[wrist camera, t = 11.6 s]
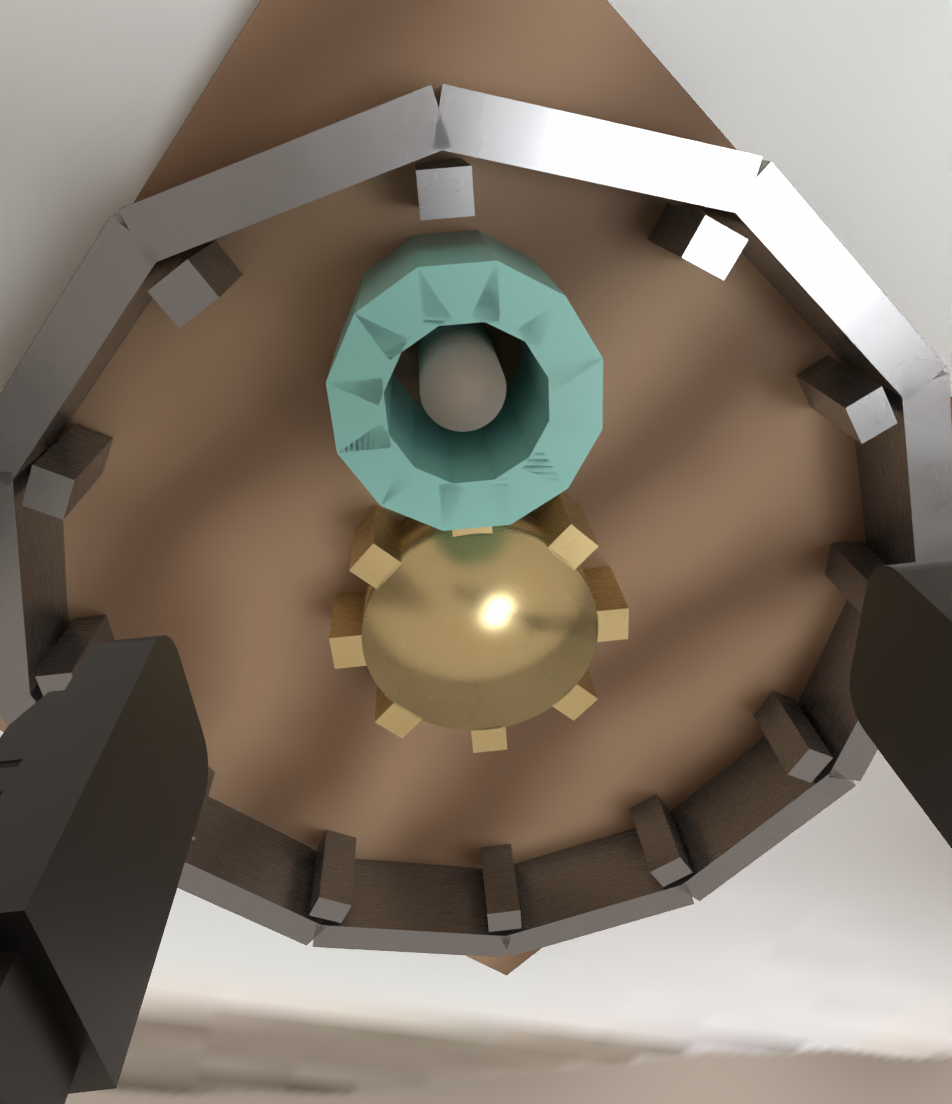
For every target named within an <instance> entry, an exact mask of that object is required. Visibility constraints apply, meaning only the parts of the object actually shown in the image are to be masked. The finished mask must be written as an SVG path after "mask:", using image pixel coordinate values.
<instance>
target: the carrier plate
mask: <svg viewBox="0 0 952 1104" xmlns="http://www.w3.org/2000/svg"><path fill="white" fill-rule="evenodd" d="M442 84H446V85H450V86H454V87H459V88H463V89H468V90H472V91H477V92H481V93H485V94H490V95H494V96H499V97H503V98H507V99H512V100H516V101H521V102H525V103H530V104H534V105H538V106H543V107H547V108H552V109H556V110H560V111H565V112H569V113H574V114H578V115H582V116H587V117H591V118H596V119H600V120H605V121H609V122H613V123H618V124H622V125H627V126H631V127H635V128H640V129H644V130H649V131H653V132H658V133H662V134H666V135H671V136H675V137H680V138H684V139H688V140H693V141H697V142H702V143H706V144H711V145H715V146H719V147H724V148H728V149H733V150H736V148H735V147H734V146H733V145H732V144H731V143H730V142H729V140H728V139H727V138H726V137H725V136H724V135H723V134H722V132H721V131H720V130H719V129H718V128H717V127H716V125H715V124H714V123H713V122H712V121H711V120H710V119H709V117H708V116H707V115H706V114H705V113H704V112H703V110H702V109H701V108H700V107H699V106H698V105H697V104H696V102H695V101H694V100H693V99H692V98H691V97H690V95H689V94H688V93H687V92H686V91H685V90H684V89H683V87H682V86H681V85H680V84H679V83H678V82H677V81H676V79H675V78H674V77H673V76H672V75H671V74H670V72H669V71H668V70H667V69H666V68H665V67H664V66H663V64H662V63H661V62H660V61H659V60H658V59H657V57H656V56H655V55H654V54H653V53H652V52H651V51H650V49H649V48H648V47H647V46H646V45H645V44H644V42H643V41H642V40H641V39H640V38H639V37H638V36H637V34H636V33H635V32H634V31H633V30H632V29H631V28H630V26H629V25H628V24H627V23H626V22H625V21H624V19H623V18H622V17H621V16H620V15H619V14H618V13H617V11H616V10H615V9H614V8H613V7H612V6H611V4H610V3H609V2H608V1H607V0H261V1H260V3H259V4H258V6H257V8H256V9H255V11H254V12H253V14H252V16H251V17H250V19H249V20H248V22H247V23H246V25H245V27H244V28H243V30H242V31H241V33H240V35H239V36H238V38H237V39H236V41H235V43H234V44H233V46H232V47H231V49H230V51H229V52H228V54H227V55H226V57H225V58H224V60H223V62H222V63H221V65H220V66H219V68H218V70H217V71H216V73H215V74H214V76H213V78H212V79H211V81H210V82H209V84H208V86H207V87H206V89H205V90H204V92H203V93H202V95H201V97H200V98H199V100H198V101H197V103H196V105H195V106H194V108H193V109H192V111H191V113H190V114H189V116H188V117H187V119H186V121H185V122H184V124H183V125H182V127H181V128H180V130H179V132H178V133H177V135H176V136H175V138H174V140H173V141H172V143H171V144H170V146H169V148H168V149H167V151H166V152H165V154H164V156H163V157H162V159H161V160H160V162H159V163H158V165H157V167H156V168H155V170H154V171H153V173H152V175H151V176H150V178H149V179H148V181H147V183H146V184H145V186H144V187H143V189H142V191H141V192H140V194H139V195H138V197H137V198H136V200H135V202H134V203H136V202H139V201H141V200H144V199H146V198H149V197H151V196H154V195H156V194H159V193H161V192H164V191H166V190H169V189H171V188H174V187H176V186H179V185H181V184H184V183H186V182H189V181H191V180H194V179H196V178H199V177H201V176H204V175H206V174H209V173H211V172H214V171H216V170H219V169H221V168H224V167H226V166H229V165H232V164H234V163H237V162H239V161H242V160H244V159H247V158H249V157H252V156H254V155H257V154H259V153H262V152H264V151H267V150H269V149H272V148H274V147H277V146H279V145H282V144H284V143H287V142H289V141H292V140H294V139H297V138H299V137H302V136H304V135H307V134H309V133H312V132H314V131H317V130H319V129H322V128H324V127H327V126H329V125H332V124H334V123H337V122H339V121H342V120H344V119H347V118H349V117H352V116H354V115H357V114H359V113H362V112H364V111H367V110H369V109H372V108H374V107H377V106H379V105H382V104H384V103H387V102H389V101H392V100H394V99H397V98H399V97H402V96H404V95H407V94H409V93H412V92H414V91H417V90H419V89H422V88H424V87H427V86H429V85H432V89H433V92H434V95H435V98H436V97H437V90H438V88H439V87H440V86H441V85H442ZM459 159H463V160H465V161H466V162H467V163H469V164H470V165H471V166H472V179H473V195H474V210H475V216H468V217H456V218H444V219H432V220H420V212H419V203H418V193H417V182H416V172H415V163H423V162H435V161H447V160H459ZM134 203H133V204H134ZM667 203H670V204H673V205H676V206H679V207H682V208H685V209H688V210H691V211H694V212H697V213H700V214H703V215H706V216H708V215H707V214H706V213H705V212H704V211H703V210H702V209H701V208H700V207H699V206H698V205H697V204H692V203H687V202H682V201H678V200H673V199H668V198H664V197H659V196H654V195H650V194H645V193H640V192H636V191H631V190H626V189H622V188H617V187H612V186H608V185H603V184H598V183H593V182H589V181H584V180H579V179H575V178H570V177H565V176H561V175H556V174H551V173H547V172H542V171H537V170H533V169H528V168H523V167H518V166H514V165H509V164H504V163H500V162H495V161H490V160H486V159H481V158H476V157H472V156H467V155H462V154H458V153H453V152H448V151H444V150H442V151H439V152H436V153H434V154H431V155H429V156H426V157H424V158H421V159H419V160H416V161H413V162H411V163H408V164H406V165H403V166H401V167H398V168H396V169H393V170H390V171H388V172H385V173H383V174H380V175H378V176H375V177H373V178H370V179H367V180H365V181H362V182H360V183H357V184H355V185H352V186H349V187H347V188H344V189H342V190H339V191H337V192H334V193H332V194H329V195H326V196H324V197H321V198H319V199H316V200H314V201H311V202H309V203H306V204H303V205H301V206H298V207H296V208H293V209H291V210H288V211H285V212H283V213H280V214H278V215H275V216H273V217H270V218H268V219H265V220H262V221H260V222H257V223H255V224H252V225H250V226H247V227H245V228H242V229H239V230H237V231H234V232H232V233H229V234H227V235H224V236H222V237H219V238H216V239H214V240H211V241H209V242H206V243H204V244H201V245H198V246H196V247H193V248H191V249H188V250H186V251H183V252H182V254H181V255H180V257H179V258H178V260H177V261H176V263H175V264H174V266H173V267H172V269H171V270H170V272H169V273H168V274H170V273H171V272H172V271H173V270H175V269H176V268H177V267H178V266H180V265H181V264H182V263H183V262H185V261H186V260H187V259H189V258H190V257H192V256H193V255H195V254H196V253H198V252H199V251H201V250H202V249H204V248H206V247H207V246H209V245H210V244H212V243H213V242H215V241H217V242H218V244H219V245H220V246H221V247H222V249H223V250H224V251H225V252H226V254H227V255H228V256H229V257H230V259H231V260H232V261H233V262H234V264H235V265H236V266H237V267H238V269H239V270H240V271H241V272H242V274H243V275H242V276H241V277H240V278H239V279H238V280H237V281H236V282H235V283H234V284H233V285H232V286H231V287H230V288H229V289H228V290H227V291H226V292H225V293H224V294H222V295H221V296H220V297H219V298H218V299H217V300H216V301H214V302H213V303H212V304H210V305H209V306H208V307H207V308H205V309H204V310H203V311H201V312H200V313H199V314H197V315H196V316H195V317H194V318H192V319H191V320H190V321H188V322H187V323H186V324H185V325H183V326H182V327H181V328H179V327H178V326H177V325H176V324H175V323H174V322H173V320H172V319H171V318H170V317H169V316H168V315H167V314H166V312H165V311H164V310H163V309H162V308H161V307H160V305H159V304H158V303H157V302H156V301H155V300H154V299H153V297H152V299H151V300H150V302H149V303H148V305H147V306H146V308H145V309H144V311H143V312H142V314H141V315H140V317H139V318H138V320H137V321H136V323H135V324H134V326H133V327H132V329H131V330H130V332H129V333H128V335H127V336H126V338H125V339H124V341H123V342H122V344H121V345H120V347H119V348H118V350H117V351H116V353H115V354H114V356H113V357H112V359H111V360H110V362H109V363H108V365H107V366H106V368H105V369H104V371H103V372H102V374H101V375H100V377H99V378H98V380H97V381H96V383H95V384H94V386H93V387H92V389H91V390H90V392H89V393H88V395H87V396H86V398H85V399H84V401H83V402H82V404H81V405H80V407H79V408H78V410H77V411H76V413H75V414H74V416H73V417H72V419H71V420H70V422H69V423H68V425H67V426H66V428H65V429H64V431H63V432H62V434H61V435H60V437H59V439H61V438H62V437H63V436H64V435H65V434H66V433H67V432H68V431H69V430H70V429H71V428H72V427H73V426H75V425H76V424H79V425H82V426H84V427H87V428H90V429H92V430H95V431H97V432H100V433H103V434H105V435H108V436H110V437H113V441H112V444H111V447H110V451H109V454H108V458H107V461H106V464H105V468H104V471H103V474H102V475H101V476H100V477H99V479H98V480H97V481H96V482H95V483H94V485H93V486H92V487H91V488H90V489H89V490H88V492H87V493H86V494H85V495H84V496H83V497H82V499H81V500H80V501H79V502H78V503H77V504H76V506H75V507H74V508H73V509H72V510H71V511H70V513H69V514H68V515H67V516H66V517H65V519H64V520H63V526H64V546H65V566H66V586H67V605H68V625H70V623H71V622H72V620H73V619H74V618H78V617H88V616H99V615H106V616H107V619H108V621H109V624H110V627H111V630H112V633H113V636H114V639H115V640H121V639H131V638H141V637H151V636H161V635H166V636H168V637H170V638H171V639H172V640H173V642H174V643H175V645H176V647H177V650H178V653H179V656H180V659H181V662H182V665H183V669H184V672H185V675H186V679H187V682H188V685H189V688H190V692H191V695H192V698H193V702H194V705H195V708H196V711H197V715H198V718H199V721H200V724H201V728H202V731H203V734H204V738H205V742H206V747H207V754H208V766H209V767H210V768H211V769H212V770H214V771H215V775H214V778H213V782H212V785H211V788H210V792H209V795H208V796H209V797H211V798H213V799H215V800H217V801H219V802H221V803H223V804H225V805H227V806H229V807H231V808H233V809H235V810H237V811H239V812H241V813H243V814H245V815H247V816H249V817H251V818H253V819H255V820H257V821H259V822H261V823H263V824H265V825H267V826H269V827H271V828H273V829H275V830H277V831H279V832H281V833H283V834H285V835H287V836H289V837H291V838H293V839H295V840H297V841H299V842H301V843H303V844H305V845H307V846H309V847H311V848H313V849H315V850H317V847H318V845H319V843H320V841H321V839H322V838H323V836H324V834H325V832H326V830H330V831H334V832H337V833H341V834H345V835H348V836H352V837H356V838H357V839H356V853H355V859H367V860H381V861H395V862H409V863H422V864H436V865H450V866H464V867H477V868H482V857H481V847H487V846H496V845H505V844H511V848H512V855H513V862H514V864H516V863H519V862H523V861H526V860H529V859H533V858H536V857H539V856H543V855H546V854H549V853H553V852H556V851H559V850H563V849H566V848H569V847H573V846H576V845H579V844H583V843H586V842H589V841H593V840H596V839H599V838H603V837H606V836H609V835H613V834H616V833H619V832H623V831H626V830H629V829H633V828H636V826H635V823H634V820H633V817H632V814H631V811H630V808H631V807H633V806H634V805H636V804H638V803H640V802H642V801H644V800H646V799H648V798H650V797H652V796H654V795H656V794H657V795H658V796H659V797H660V799H661V800H662V801H663V802H664V804H665V805H666V806H667V807H668V809H669V811H670V812H671V811H672V810H673V809H674V808H676V807H677V806H678V805H679V804H681V803H682V802H683V801H684V800H686V799H687V798H688V797H689V796H691V795H692V794H693V793H694V792H696V791H697V790H698V789H699V788H701V787H702V786H703V785H704V784H706V783H707V782H708V781H709V780H711V779H712V778H713V777H714V776H716V775H717V774H718V773H719V772H721V771H722V770H723V769H724V768H726V767H727V766H728V765H729V764H731V763H732V762H733V761H734V760H736V759H737V758H738V757H739V756H741V755H742V754H743V753H744V752H746V751H747V750H748V749H749V748H751V747H752V746H753V745H754V744H756V743H757V742H758V741H759V740H761V739H762V738H763V737H764V736H765V735H764V733H763V731H762V729H761V728H760V726H759V724H758V722H757V721H756V719H755V717H754V716H753V715H754V714H755V712H756V711H757V710H758V709H759V707H760V706H761V705H762V704H763V702H764V701H765V700H766V699H767V697H768V696H769V695H770V694H771V692H772V691H774V692H777V693H779V694H782V695H784V696H787V697H790V698H792V699H795V701H796V702H797V703H798V701H799V699H800V697H801V695H802V693H803V691H804V688H805V686H806V684H807V682H808V680H809V678H810V676H811V674H812V672H813V670H814V667H815V665H816V663H817V661H818V659H819V657H820V655H821V653H822V651H823V649H824V646H825V644H826V642H827V640H828V638H829V636H830V634H831V632H832V630H833V628H834V625H835V623H836V621H837V619H838V617H839V615H840V613H841V611H842V609H843V607H844V604H845V602H846V600H847V599H846V597H845V596H844V595H843V594H842V593H841V592H840V591H839V590H838V589H837V588H836V586H835V585H834V584H833V583H832V582H831V581H830V580H829V579H828V578H827V577H826V575H825V573H826V567H827V561H828V555H829V548H830V543H837V542H848V541H858V540H861V541H862V542H863V543H864V544H865V545H866V546H867V543H866V535H865V526H864V517H863V509H862V500H861V491H860V482H859V474H858V465H857V456H856V448H855V439H854V438H853V437H851V436H850V435H848V434H847V433H846V432H844V431H843V430H841V429H840V428H839V427H837V426H836V425H835V424H833V423H832V422H830V421H829V420H828V419H826V418H825V417H823V416H822V415H821V414H819V413H818V412H817V411H815V410H814V409H812V408H811V406H810V404H809V402H808V400H807V398H806V396H805V394H804V391H803V389H802V387H801V385H800V383H799V381H798V379H797V377H796V374H798V373H800V372H801V371H803V370H805V369H806V368H808V367H809V366H811V365H813V364H814V363H816V362H817V361H819V360H821V359H822V358H824V357H825V356H827V355H828V356H830V357H832V358H833V359H835V360H837V361H839V362H840V363H842V364H844V363H843V361H842V360H841V359H840V358H839V357H838V356H837V355H836V354H835V353H834V352H833V351H832V350H831V348H830V347H829V346H828V345H827V344H826V343H825V342H824V341H823V340H822V339H821V338H820V337H819V335H818V334H817V333H816V332H815V331H814V330H813V329H812V328H811V327H810V326H809V325H808V324H807V322H806V321H805V320H804V319H803V318H802V317H801V316H800V315H799V314H798V313H797V312H796V311H795V309H794V308H793V307H792V306H791V305H790V304H789V303H788V302H787V301H786V300H785V299H784V298H783V297H782V295H781V294H780V293H779V292H778V291H777V290H776V289H775V288H774V287H773V286H772V285H771V284H770V282H769V281H768V280H767V279H766V278H765V277H764V276H763V275H762V274H761V273H760V272H759V271H758V269H757V268H756V267H755V266H754V265H753V264H752V263H751V262H750V261H749V260H748V259H747V258H746V256H745V255H744V254H743V253H742V252H741V253H740V255H739V256H738V258H737V260H736V261H735V263H734V265H733V266H732V268H731V270H730V272H729V273H728V275H727V277H726V278H725V280H724V281H723V280H722V279H720V278H718V277H716V276H714V275H712V274H710V273H708V272H706V271H704V270H702V269H700V268H698V267H696V266H695V265H693V264H691V263H689V262H687V261H685V260H683V259H681V258H679V257H678V256H676V255H674V254H672V253H670V252H668V251H667V250H665V249H663V248H661V247H659V246H657V245H656V244H654V243H652V242H650V241H648V240H647V239H648V238H649V236H650V234H651V232H652V230H653V228H654V227H655V225H656V223H657V221H658V219H659V217H660V216H661V214H662V212H663V210H664V208H665V206H666V205H667ZM708 217H709V216H708ZM472 230H479V231H481V232H483V233H485V234H487V235H488V236H490V237H492V238H494V239H496V240H498V241H500V242H502V243H504V244H506V245H508V246H510V247H512V248H514V249H515V250H517V251H519V252H521V253H523V254H525V255H527V256H529V257H531V258H533V259H534V261H535V262H536V263H537V264H538V265H539V266H540V267H541V269H542V270H543V271H544V272H545V273H546V274H547V275H548V276H549V278H550V279H551V280H552V281H553V282H554V283H555V284H556V286H557V287H558V288H559V289H560V290H561V291H562V292H563V293H564V295H565V296H566V297H567V299H568V301H569V302H570V304H571V306H572V307H573V309H574V311H575V312H576V314H577V316H578V317H579V319H580V321H581V322H582V324H583V326H584V327H585V329H586V331H587V332H588V334H589V336H590V338H591V339H592V341H593V343H594V344H595V346H596V348H597V349H598V351H599V353H600V354H601V356H602V358H603V425H602V431H601V433H600V434H599V436H598V438H597V439H596V441H595V443H594V445H593V446H592V448H591V450H590V451H589V453H588V455H587V457H586V458H585V460H584V462H583V464H582V465H581V467H580V469H579V470H578V472H577V474H576V476H575V477H574V479H573V481H572V482H571V484H570V486H569V488H568V489H566V490H565V491H563V493H564V494H565V495H566V496H568V497H569V498H570V499H571V500H573V501H574V502H575V503H576V504H578V505H579V506H580V507H581V508H582V509H583V512H584V514H585V516H586V518H587V521H588V523H589V525H590V527H591V530H592V532H593V534H594V536H595V539H596V541H597V543H598V545H599V547H598V548H597V549H596V550H595V551H594V552H592V553H591V554H590V555H589V556H588V557H587V558H586V559H585V560H584V561H583V562H582V563H581V564H580V565H581V567H582V569H588V568H598V567H608V566H610V567H611V569H612V572H613V574H614V576H615V578H616V580H617V583H618V585H619V587H620V589H621V592H622V594H623V596H624V598H625V600H626V603H627V605H628V607H629V626H628V639H623V640H613V641H604V642H597V644H596V648H595V652H594V655H593V657H592V660H591V662H590V665H589V666H588V669H589V672H590V675H591V678H592V681H593V685H594V688H595V691H596V694H597V697H598V700H597V701H595V702H594V703H593V704H592V705H591V706H590V707H589V708H588V709H586V710H585V711H584V712H583V713H582V714H581V715H580V716H579V717H578V718H576V719H575V720H574V721H573V720H572V719H570V718H569V717H567V716H566V715H564V714H563V713H561V712H560V711H558V710H557V709H555V708H554V707H551V708H549V709H548V710H546V711H544V712H543V713H541V714H539V715H537V716H535V717H533V718H531V719H528V720H526V721H523V722H520V723H518V724H514V725H510V726H507V727H506V738H507V750H497V751H488V752H478V753H473V746H472V736H471V730H458V729H451V728H445V727H441V726H437V725H434V724H430V723H428V722H425V721H423V720H421V721H420V722H419V723H418V724H417V725H416V726H415V727H414V728H413V729H412V730H411V731H410V732H409V733H408V734H407V735H406V736H405V737H404V738H403V739H402V738H400V737H399V736H397V735H395V734H394V733H392V732H390V731H389V730H387V729H385V728H384V727H382V726H380V725H378V724H377V723H375V707H376V689H377V684H376V683H375V681H374V679H373V678H372V676H371V674H370V672H369V670H368V667H367V666H358V667H348V668H338V669H335V667H334V662H333V657H332V652H331V647H330V641H329V635H330V628H331V621H332V615H333V608H334V601H335V595H336V593H345V592H355V591H365V590H366V582H365V581H364V580H362V579H361V578H359V577H358V576H356V575H355V574H353V573H352V572H350V571H349V567H350V559H351V552H352V544H353V536H354V530H355V529H356V527H357V526H358V525H359V524H360V523H361V522H362V521H363V519H364V518H365V517H366V516H367V515H368V514H369V512H370V511H371V510H372V509H373V508H374V507H375V506H376V504H377V505H378V506H379V507H381V508H382V509H383V510H385V511H386V512H388V513H389V514H390V515H392V516H393V517H395V518H396V519H397V520H399V521H400V522H402V521H404V520H405V519H406V518H408V517H407V516H405V515H402V514H400V513H397V512H395V511H392V510H390V509H387V508H385V507H382V506H380V505H379V503H378V502H377V501H376V500H375V498H374V497H373V496H372V495H371V494H370V492H369V491H368V490H367V489H366V488H365V486H364V485H363V484H362V483H361V481H360V480H359V479H358V478H357V477H356V475H355V474H354V473H353V472H352V471H351V469H350V468H349V467H348V466H347V465H346V463H345V462H344V461H343V460H342V458H341V457H340V456H339V455H338V454H337V450H336V444H335V438H334V431H333V425H332V419H331V413H330V406H329V400H328V394H327V388H326V380H327V377H328V374H329V371H330V367H331V364H332V361H333V358H334V354H335V351H336V348H337V344H338V341H339V338H340V335H341V331H342V328H343V326H344V323H345V321H346V318H347V316H348V314H349V311H350V309H351V306H352V304H353V301H354V299H355V296H356V294H357V292H358V289H359V287H360V284H361V282H362V279H363V277H364V274H365V272H366V271H368V270H369V269H370V268H372V267H373V266H374V265H376V264H377V263H378V262H380V261H381V260H383V259H384V258H385V257H387V256H388V255H389V254H391V253H392V252H393V251H395V250H396V249H397V248H399V247H400V246H401V245H403V244H404V243H405V242H407V241H408V240H410V239H411V238H412V237H414V236H415V235H422V234H435V233H447V232H460V231H472ZM521 361H522V357H521V339H519V338H517V337H515V336H513V335H511V334H508V333H506V332H504V331H502V330H500V329H498V328H496V327H494V326H492V325H490V324H488V323H486V322H479V323H467V324H455V325H443V326H438V327H437V328H435V329H434V330H432V331H431V332H430V333H428V334H427V335H425V336H424V337H422V338H421V339H420V340H418V341H417V342H415V343H414V344H413V345H411V346H410V347H408V348H407V349H405V350H404V351H403V352H401V355H400V357H399V359H398V361H397V364H396V366H395V368H394V370H393V373H394V374H395V376H396V377H397V379H398V380H399V381H400V383H401V384H402V385H403V387H404V388H405V389H406V391H407V392H408V393H409V395H410V396H411V397H412V399H413V400H415V401H418V402H420V403H422V405H423V407H424V409H425V411H426V413H427V414H428V415H429V417H430V418H431V419H432V420H433V421H434V422H436V423H437V424H438V425H440V426H442V427H444V428H446V429H449V430H452V431H459V432H467V431H473V430H476V429H479V428H481V427H483V426H485V425H487V424H488V423H489V422H491V421H492V420H493V419H494V418H495V417H496V416H497V414H498V413H499V412H500V410H501V408H502V406H503V404H504V401H505V397H506V390H507V388H508V386H509V384H510V382H511V380H512V378H513V376H514V375H515V373H516V371H517V369H518V367H519V365H520V363H521ZM844 365H845V364H844ZM950 405H951V425H952V397H951V396H950ZM7 727H8V725H7V724H6V723H5V722H4V720H3V719H2V718H1V717H0V730H1V731H3V732H4V731H5V730H6V728H7ZM540 949H541V948H539V949H535V950H532V951H528V952H525V953H521V954H518V955H514V956H511V957H510V955H509V953H508V951H506V954H505V957H489V956H471V955H466V956H468V957H470V958H472V959H474V960H476V961H478V962H480V963H482V964H484V965H486V966H488V967H490V968H493V969H495V970H497V971H499V972H501V973H503V974H505V975H508V974H509V973H510V972H511V971H513V970H514V969H515V968H517V967H518V966H519V965H520V964H522V963H523V962H524V961H525V960H527V959H528V958H529V957H531V956H532V955H533V954H534V953H536V952H537V951H538V950H540Z"/></svg>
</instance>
